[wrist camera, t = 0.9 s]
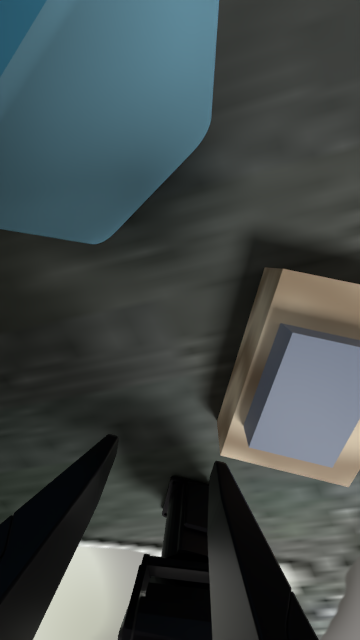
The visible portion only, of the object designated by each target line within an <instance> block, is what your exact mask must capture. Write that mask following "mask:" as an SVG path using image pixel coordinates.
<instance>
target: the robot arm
mask: <svg viewBox="0 0 360 640" xmlns="http://www.w3.org/2000/svg"><path fill="white" fill-rule="evenodd" d="M118 440H119V438H118V436H116V435H112V434H108V435H107V436H106V437H104V438H103V439H102V440H101V441H100V442H98V443H97V444H96V445H95V446H94V447H92V448H91V449H90V450H89V451H88V452H86V453H85V454H84V455H83V456H82V457H80V458H79V459H78V460H77V461H76V462H74V463H73V464H72V465H71V466H70V467H68V468H67V469H66V470H65V471H64V472H62V473H61V474H60V475H59V476H58V477H56V478H55V479H54V480H53V481H52V482H50V483H49V484H48V485H47V486H46V487H44V488H43V489H42V490H41V491H40V492H39V493H37V494H36V495H35V496H34V497H33V498H31V499H30V500H29V501H28V502H27V503H25V504H24V505H23V506H22V507H21V508H19V509H18V510H17V511H16V512H15V513H14V514H13V516H12V515H11V516H10V517H8V518H7V519H6V520H5V521H4V522H2V523H1V524H0V640H33V638H34V636H35V634H36V632H37V630H38V628H39V625H40V623H41V621H42V619H43V617H44V615H45V613H46V611H47V609H48V607H49V605H50V603H51V601H52V599H53V596H54V594H55V592H56V590H57V588H58V586H59V584H60V582H61V579H62V577H63V576H64V574H65V572H66V569H67V567H68V565H69V563H70V561H71V559H72V557H73V555H74V552H75V551H76V549H77V547H78V544H79V542H80V540H81V538H82V536H83V534H84V532H85V530H86V528H87V526H88V524H89V522H90V520H91V517H92V515H93V513H94V511H95V509H96V507H97V504H98V502H99V500H100V497H101V494H102V492H103V489H104V486H105V484H106V481H107V478H108V476H109V473H110V470H111V468H112V465H113V462H114V460H115V457H116V453H117V447H118ZM162 515H163V516H164V517H167V519H166V527H165V534H164V541H163V549H162V556H161V557H156V556H150V554H144V557H143V560H142V564H141V565H140V566H139V569H138V573H137V577H136V581H135V585H134V588H133V592H132V595H131V599H130V603H129V606H128V609H127V611H126V614H125V617H124V619H123V622H122V625H121V628H120V631H119V635H118V640H319V639H318V638H317V636H316V634H315V632H314V630H313V628H312V626H311V625H310V623H309V621H308V619H307V617H306V615H305V613H304V612H303V610H302V608H301V606H300V604H299V602H298V600H297V598H296V596H295V594H294V593H293V592H291V587H290V585H289V583H288V581H287V579H286V577H285V575H284V573H283V571H282V570H281V568H280V566H279V564H278V562H277V560H276V558H275V556H274V554H273V552H272V550H271V548H270V546H269V545H268V543H267V541H266V539H265V537H264V535H263V533H262V531H261V529H260V527H259V525H258V523H257V521H256V520H255V518H254V516H253V514H252V512H251V510H250V508H249V506H248V504H247V502H246V500H245V498H244V497H243V495H242V493H241V491H240V489H239V487H238V485H237V483H236V481H235V479H234V477H233V475H232V473H231V472H230V470H229V468H228V466H227V464H226V463H224V462H220V461H215V463H214V466H213V469H212V472H211V475H210V480H209V485H208V484H204V483H200V482H196V481H192V480H188V479H184V478H180V477H176V476H172V477H171V479H170V483H169V487H168V491H167V495H166V499H165V503H164V507H163V511H162Z"/></svg>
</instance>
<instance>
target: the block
mask: <svg viewBox="0 0 360 640" xmlns="http://www.w3.org/2000/svg"><path fill="white" fill-rule="evenodd" d="M359 419H360V340H356V339H352V338H347V337H343V336H338V335H333V334H329V333H324V332H320V331H315V330H310V329H306V328H301V327H297V326H292V325H287V324H283V323H280V325H279V328H278V331H277V334H276V337H275V339H274V342H273V345H272V348H271V350H270V353H269V356H268V359H267V362H266V364H265V367H264V370H263V373H262V376H261V378H260V381H259V384H258V387H257V389H256V392H255V395H254V398H253V401H252V403H251V406H250V409H249V412H248V414H247V417H246V420H245V423H244V426H243V427H244V431H245V435H246V439H247V443H248V446H249V448H253V449H257V450H261V451H266V452H270V453H274V454H278V455H282V456H286V457H290V458H294V459H298V460H302V461H306V462H311V463H315V464H319V465H323V466H327V467H331V468H333V466H334V464H335V462H336V461H337V459H338V457H339V455H340V453H341V452H342V450H343V448H344V446H345V444H346V443H347V441H348V439H349V437H350V435H351V434H352V432H353V430H354V428H355V427H356V425H357V423H358V421H359Z"/></svg>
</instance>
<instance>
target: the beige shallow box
mask: <svg viewBox="0 0 360 640" xmlns="http://www.w3.org/2000/svg"><path fill="white" fill-rule="evenodd" d="M280 323H283V324H287V325H292V326H297V327H301V328H306V329H310V330H315V331H320V332H324V333H329V334H333V335H338V336H343V337H347V338H352V339H356V340H360V284H355V283H350V282H345V281H340V280H335V279H331V278H326V277H321V276H316V275H311V274H306V273H301V272H297V271H292V270H287V269H280V268H268V267H265V268H264V271H263V275H262V278H261V281H260V284H259V287H258V291H257V294H256V297H255V300H254V304H253V307H252V310H251V313H250V316H249V320H248V323H247V326H246V329H245V333H244V336H243V339H242V342H241V345H240V349H239V352H238V355H237V358H236V362H235V365H234V368H233V371H232V374H231V378H230V381H229V384H228V387H227V391H226V394H225V397H224V400H223V403H222V407H221V410H220V413H219V416H218V420H217V426H218V436H219V446H220V455H221V456H225V457H229V458H233V459H237V460H241V461H245V462H249V463H253V464H257V465H261V466H266V467H270V468H274V469H278V470H282V471H286V472H290V473H294V474H298V475H302V476H306V477H310V478H314V479H318V480H322V481H326V482H330V483H334V484H338V485H342V486H346V487H349V486H350V484H351V483H352V481H353V479H354V478H355V476H356V474H357V473H358V471H359V469H360V419H359V421H358V423H357V425H356V427H355V428H354V430H353V432H352V434H351V435H350V437H349V439H348V441H347V443H346V444H345V446H344V448H343V450H342V452H341V453H340V455H339V457H338V459H337V461H336V462H335V464H334V466H333V468H331V467H327V466H323V465H319V464H315V463H311V462H306V461H302V460H298V459H294V458H290V457H286V456H282V455H278V454H274V453H270V452H266V451H261V450H257V449H253V448H249V446H248V443H247V439H246V435H245V431H244V427H243V426H244V423H245V420H246V417H247V414H248V412H249V409H250V406H251V403H252V401H253V398H254V395H255V392H256V389H257V387H258V384H259V381H260V378H261V376H262V373H263V370H264V367H265V364H266V362H267V359H268V356H269V353H270V350H271V348H272V345H273V342H274V339H275V337H276V334H277V331H278V328H279V325H280Z"/></svg>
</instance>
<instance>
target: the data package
mask: <svg viewBox="0 0 360 640" xmlns="http://www.w3.org/2000/svg"><path fill="white" fill-rule="evenodd" d="M218 9H219V0H0V229H3V230H9V231H16V232H22V233H28V234H34V235H40V236H46V237H52V238H58V239H64V240H70V241H76V242H82V243H88V244H99V243H101V242H103V241H105V240H107V239H108V238H110V237H111V236H112V235H113V234H114V233H115V232H116V231H117V230H118V229H119V228H120V227H121V226H122V225H123V224H124V223H125V222H126V221H127V220H128V219H129V218H130V217H131V215H132V214H133V213H134V212H135V211H136V210H137V209H138V208H139V207H140V206H141V205H142V204H143V203H144V202H145V201H146V200H147V199H148V198H149V197H150V196H151V195H152V194H153V193H154V192H155V191H156V190H157V188H158V187H159V186H160V185H161V184H162V183H163V182H164V181H165V180H166V179H167V178H168V177H169V176H170V175H171V174H172V173H173V172H174V171H175V170H176V169H177V168H178V167H179V166H180V165H181V164H182V162H183V161H184V160H185V159H186V158H187V157H188V156H189V155H190V154H191V153H192V152H193V151H194V150H195V149H196V148H197V147H198V145H199V144H200V143H201V141H202V140H203V138H204V136H205V135H206V133H207V131H208V128H209V126H210V122H211V113H212V98H213V83H214V68H215V54H216V39H217V24H218Z"/></svg>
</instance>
